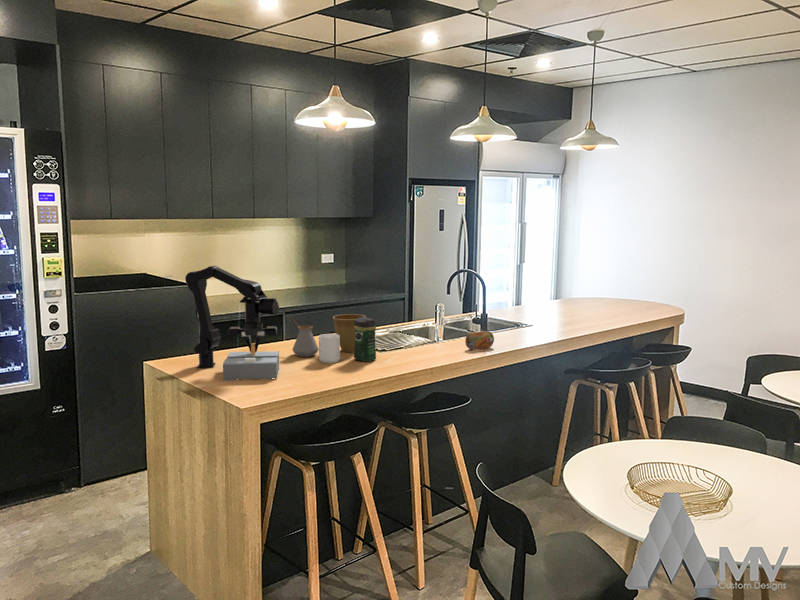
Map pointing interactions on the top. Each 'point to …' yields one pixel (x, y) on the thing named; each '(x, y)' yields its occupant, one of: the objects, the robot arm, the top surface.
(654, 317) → the top surface
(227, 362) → the lid
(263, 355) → the lid
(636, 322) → the top surface
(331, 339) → the mug
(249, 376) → the carton
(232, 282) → the robot arm
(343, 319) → the plant pot
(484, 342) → the tin
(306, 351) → the coffee pot
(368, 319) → the coffee jar
